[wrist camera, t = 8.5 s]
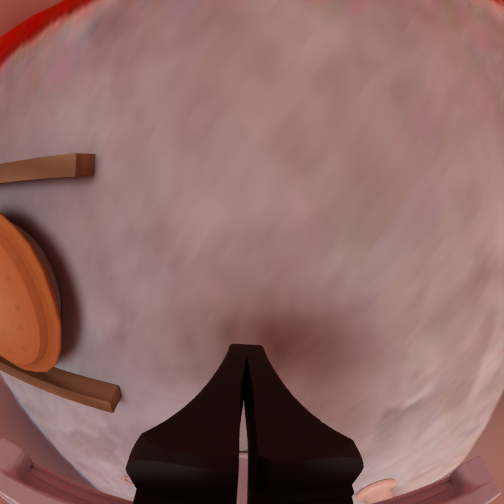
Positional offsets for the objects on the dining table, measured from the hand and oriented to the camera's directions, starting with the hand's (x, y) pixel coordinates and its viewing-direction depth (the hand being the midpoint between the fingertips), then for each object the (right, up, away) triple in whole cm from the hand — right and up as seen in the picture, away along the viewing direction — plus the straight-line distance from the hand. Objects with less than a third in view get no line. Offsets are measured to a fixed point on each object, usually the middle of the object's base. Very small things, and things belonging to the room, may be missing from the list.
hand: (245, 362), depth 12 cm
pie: (-22, +2, +8) cm, 23 cm away
